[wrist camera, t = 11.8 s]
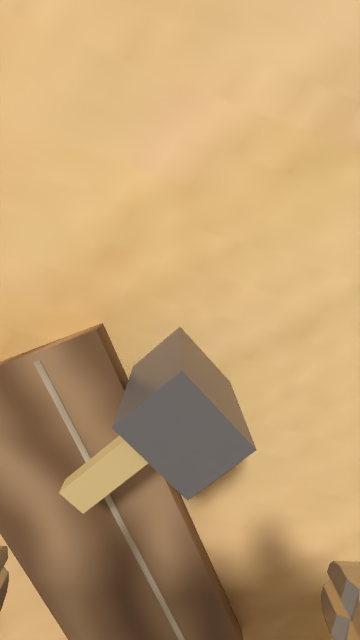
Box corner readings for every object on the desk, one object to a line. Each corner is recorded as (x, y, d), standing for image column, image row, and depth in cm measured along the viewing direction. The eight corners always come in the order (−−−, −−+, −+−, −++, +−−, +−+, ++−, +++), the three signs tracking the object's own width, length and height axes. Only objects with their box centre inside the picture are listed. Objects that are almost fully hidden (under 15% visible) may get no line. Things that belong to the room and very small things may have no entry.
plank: (108, 668, 26) (103, 696, 25) (-66, 386, 20) (-88, 399, 18) (241, 630, 26) (246, 656, 24) (102, 323, 19) (95, 330, 18)
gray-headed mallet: (120, 468, 22) (94, 568, 15) (68, 420, 21) (17, 505, 14) (229, 381, 20) (256, 450, 14) (180, 326, 19) (181, 370, 13)
